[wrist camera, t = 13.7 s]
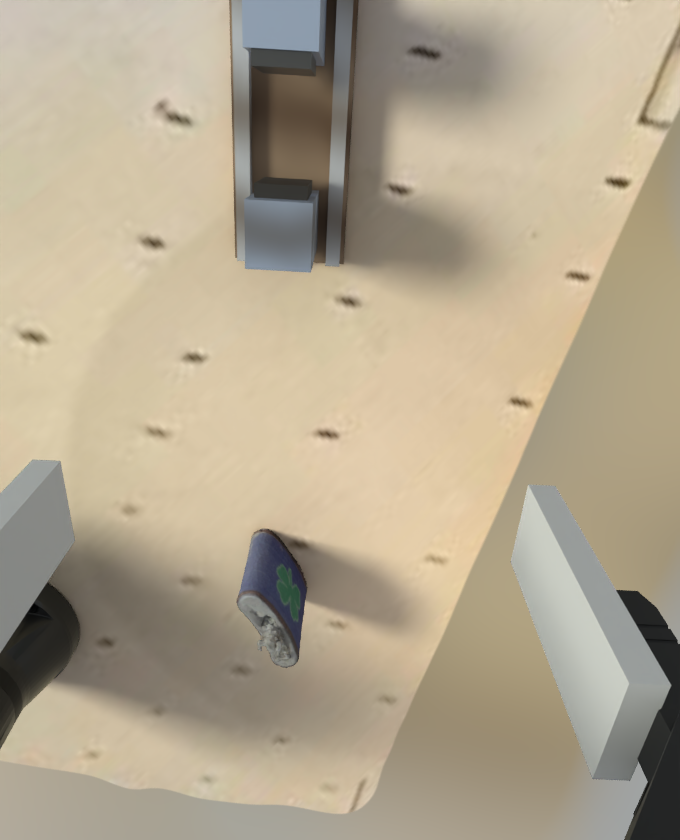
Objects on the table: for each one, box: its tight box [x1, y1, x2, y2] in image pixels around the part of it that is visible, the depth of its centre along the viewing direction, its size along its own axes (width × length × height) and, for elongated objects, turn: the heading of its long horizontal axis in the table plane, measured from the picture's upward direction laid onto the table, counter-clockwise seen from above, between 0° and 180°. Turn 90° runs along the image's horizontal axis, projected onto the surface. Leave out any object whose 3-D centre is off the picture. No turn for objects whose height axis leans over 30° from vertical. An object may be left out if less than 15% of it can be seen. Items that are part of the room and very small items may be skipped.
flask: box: [237, 529, 307, 668], centre depth 53 cm, size 9×3×11 cm, turn 23°
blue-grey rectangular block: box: [242, 0, 327, 77], centre depth 34 cm, size 4×5×8 cm
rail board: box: [229, 0, 358, 272], centre depth 37 cm, size 18×8×9 cm, turn 177°
